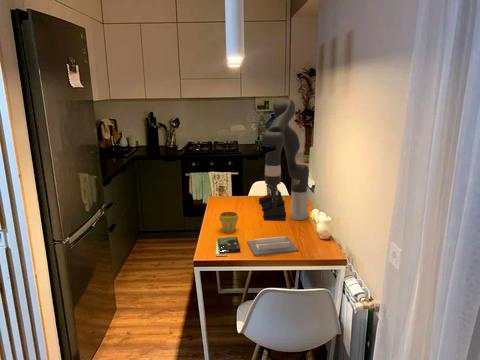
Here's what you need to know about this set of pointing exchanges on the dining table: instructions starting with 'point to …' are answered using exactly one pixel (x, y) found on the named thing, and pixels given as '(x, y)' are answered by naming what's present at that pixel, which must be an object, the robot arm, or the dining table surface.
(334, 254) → the dining table surface
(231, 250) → the disk drive
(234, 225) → the plant pot
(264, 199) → the magazine
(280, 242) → the rail board
